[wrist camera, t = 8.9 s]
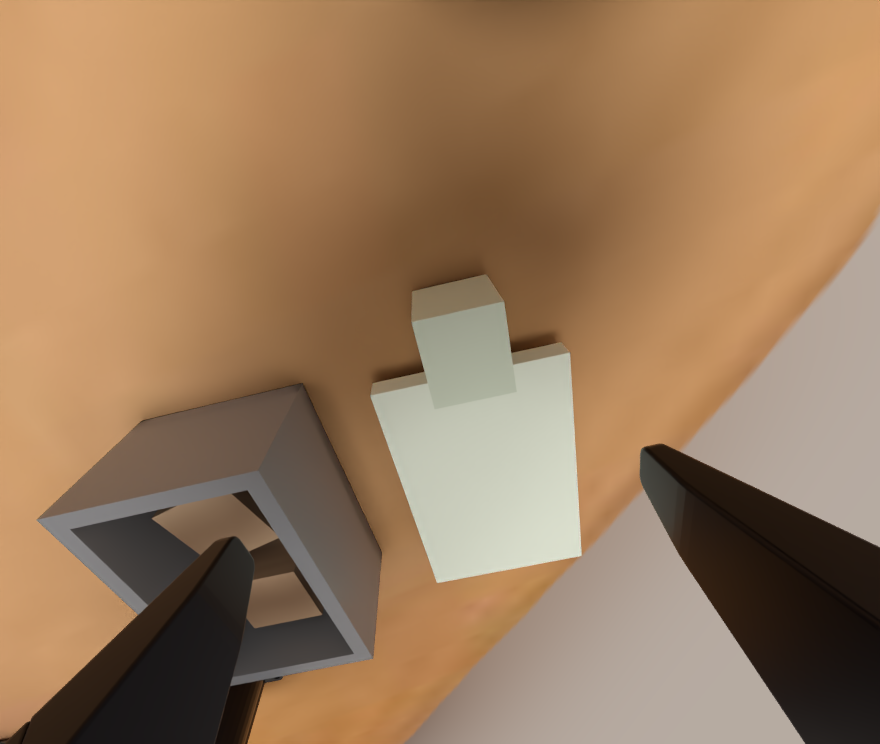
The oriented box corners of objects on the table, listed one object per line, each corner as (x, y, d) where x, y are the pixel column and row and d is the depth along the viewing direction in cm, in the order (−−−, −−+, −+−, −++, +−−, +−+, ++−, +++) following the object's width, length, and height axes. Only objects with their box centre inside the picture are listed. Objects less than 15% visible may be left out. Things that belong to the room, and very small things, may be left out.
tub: (381, 552, 27) (373, 658, 21) (258, 578, 27) (217, 688, 21) (302, 383, 20) (257, 470, 14) (141, 420, 21) (36, 519, 15)
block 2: (334, 551, 25) (322, 614, 22) (276, 564, 25) (254, 628, 22) (311, 510, 23) (293, 571, 20) (249, 523, 23) (219, 586, 20)
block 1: (301, 477, 22) (280, 537, 18) (246, 504, 23) (215, 566, 19) (254, 428, 20) (220, 484, 17) (195, 459, 21) (151, 518, 17)
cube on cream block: (569, 527, 27) (596, 590, 23) (435, 553, 27) (439, 618, 23) (549, 256, 18) (587, 282, 14) (350, 302, 18) (332, 340, 14)
